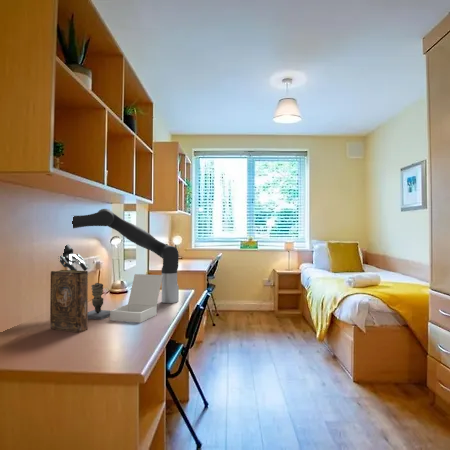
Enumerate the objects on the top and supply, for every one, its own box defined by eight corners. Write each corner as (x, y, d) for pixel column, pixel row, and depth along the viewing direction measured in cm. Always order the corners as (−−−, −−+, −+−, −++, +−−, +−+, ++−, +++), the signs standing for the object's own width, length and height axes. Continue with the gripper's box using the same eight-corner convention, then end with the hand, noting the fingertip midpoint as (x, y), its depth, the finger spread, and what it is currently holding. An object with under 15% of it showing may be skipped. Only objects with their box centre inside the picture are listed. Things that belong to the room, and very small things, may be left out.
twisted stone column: (91, 314, 175) (91, 283, 176) (91, 312, 180) (91, 282, 181) (103, 313, 178) (103, 283, 178) (102, 311, 183) (102, 281, 183)
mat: (94, 312, 186) (94, 309, 186) (115, 314, 183) (115, 311, 183) (79, 318, 175) (79, 314, 175) (101, 319, 172) (101, 316, 172)
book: (89, 329, 155) (89, 271, 156) (80, 332, 150) (80, 272, 151) (60, 325, 161) (60, 269, 161) (50, 328, 156) (50, 271, 156)
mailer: (135, 309, 192) (135, 274, 193) (162, 311, 188) (162, 275, 188) (110, 320, 170) (110, 279, 171) (140, 322, 166) (140, 281, 166)
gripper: (56, 243, 180) (75, 267, 176) (75, 242, 193) (94, 264, 190) (47, 254, 181) (66, 277, 178) (67, 252, 195) (85, 273, 191)
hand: (80, 270), depth 184 cm, fingers open, 8 cm apart
